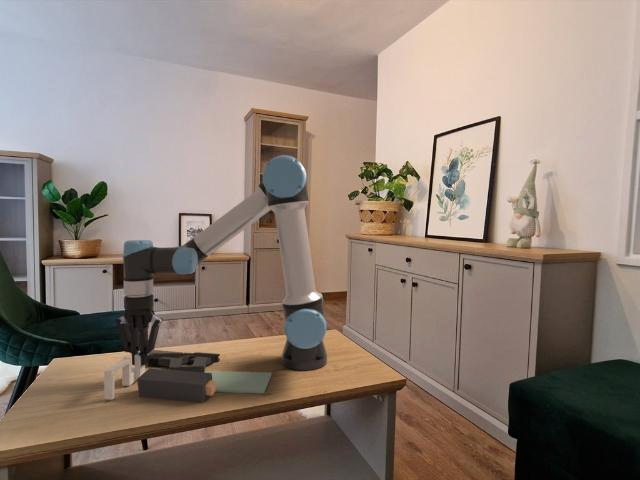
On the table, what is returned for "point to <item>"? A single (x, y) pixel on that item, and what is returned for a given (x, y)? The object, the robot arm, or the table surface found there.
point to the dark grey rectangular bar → (176, 385)
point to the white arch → (127, 376)
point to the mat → (240, 381)
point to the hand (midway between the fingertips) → (139, 375)
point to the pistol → (182, 360)
